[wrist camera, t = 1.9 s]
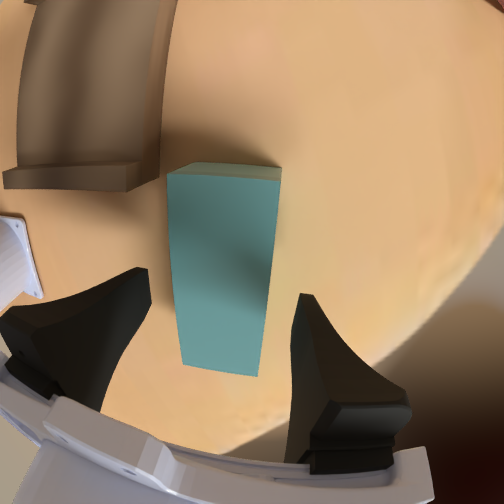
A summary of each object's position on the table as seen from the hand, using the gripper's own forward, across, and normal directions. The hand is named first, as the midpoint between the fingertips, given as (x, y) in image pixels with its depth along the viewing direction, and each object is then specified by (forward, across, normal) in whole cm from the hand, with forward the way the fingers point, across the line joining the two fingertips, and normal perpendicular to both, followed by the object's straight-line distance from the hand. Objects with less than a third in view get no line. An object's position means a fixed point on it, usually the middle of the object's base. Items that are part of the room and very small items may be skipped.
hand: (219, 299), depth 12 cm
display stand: (+4, +10, -12) cm, 16 cm away
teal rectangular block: (+4, 0, 0) cm, 4 cm away
